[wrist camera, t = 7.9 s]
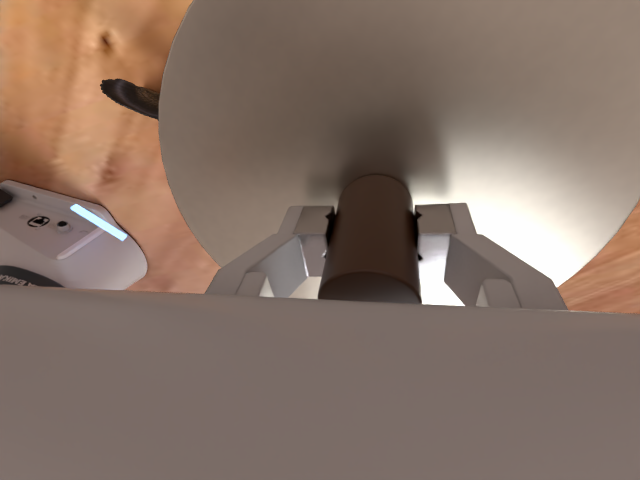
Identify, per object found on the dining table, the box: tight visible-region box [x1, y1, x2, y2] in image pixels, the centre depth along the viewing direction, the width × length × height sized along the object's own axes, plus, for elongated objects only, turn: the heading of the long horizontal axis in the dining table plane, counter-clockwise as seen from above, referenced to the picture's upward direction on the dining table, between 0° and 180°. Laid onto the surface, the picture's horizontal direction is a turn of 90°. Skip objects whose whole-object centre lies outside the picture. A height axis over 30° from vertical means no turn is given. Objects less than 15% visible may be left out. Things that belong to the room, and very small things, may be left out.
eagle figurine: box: [100, 79, 160, 121], centre depth 30 cm, size 8×7×9 cm
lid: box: [159, 0, 640, 306], centre depth 10 cm, size 16×16×6 cm
